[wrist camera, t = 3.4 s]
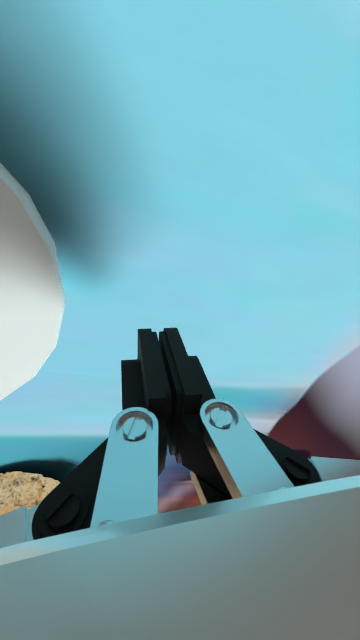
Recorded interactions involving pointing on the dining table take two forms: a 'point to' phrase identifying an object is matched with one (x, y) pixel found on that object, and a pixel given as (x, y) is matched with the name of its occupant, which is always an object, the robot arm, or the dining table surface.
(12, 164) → the dining table surface
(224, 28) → the dining table surface
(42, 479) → the beige piece
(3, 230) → the lid
